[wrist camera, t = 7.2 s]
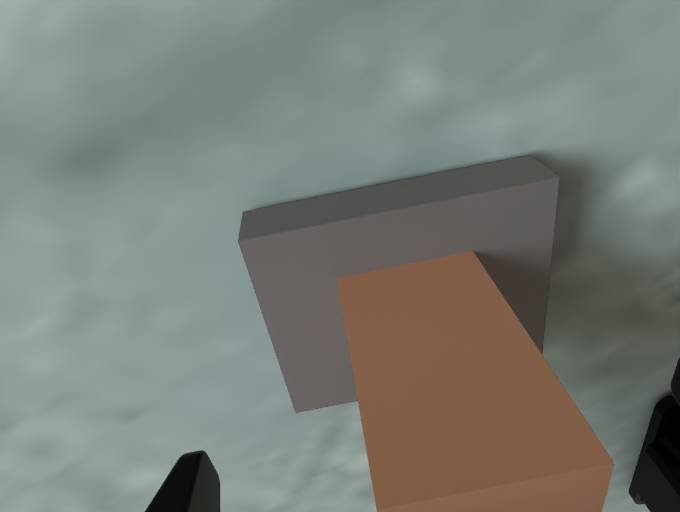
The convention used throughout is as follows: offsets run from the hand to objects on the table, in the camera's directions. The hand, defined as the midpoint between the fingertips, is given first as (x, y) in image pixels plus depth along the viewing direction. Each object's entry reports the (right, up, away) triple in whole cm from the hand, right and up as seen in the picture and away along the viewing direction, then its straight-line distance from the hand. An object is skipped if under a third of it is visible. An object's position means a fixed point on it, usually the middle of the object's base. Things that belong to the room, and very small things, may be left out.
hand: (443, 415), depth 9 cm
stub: (0, +2, +4) cm, 5 cm away
